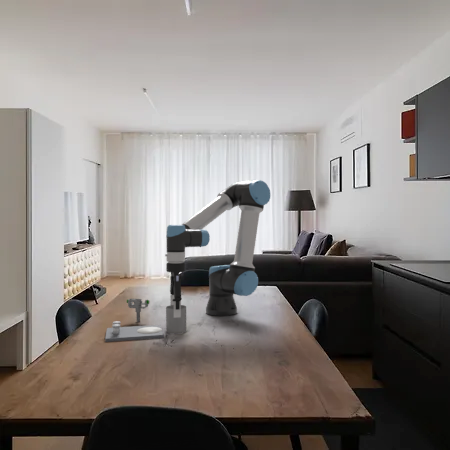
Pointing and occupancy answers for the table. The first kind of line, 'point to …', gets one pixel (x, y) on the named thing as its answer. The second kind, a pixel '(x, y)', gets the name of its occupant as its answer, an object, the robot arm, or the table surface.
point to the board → (133, 332)
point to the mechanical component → (137, 306)
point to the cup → (175, 320)
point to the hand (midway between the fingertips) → (175, 313)
